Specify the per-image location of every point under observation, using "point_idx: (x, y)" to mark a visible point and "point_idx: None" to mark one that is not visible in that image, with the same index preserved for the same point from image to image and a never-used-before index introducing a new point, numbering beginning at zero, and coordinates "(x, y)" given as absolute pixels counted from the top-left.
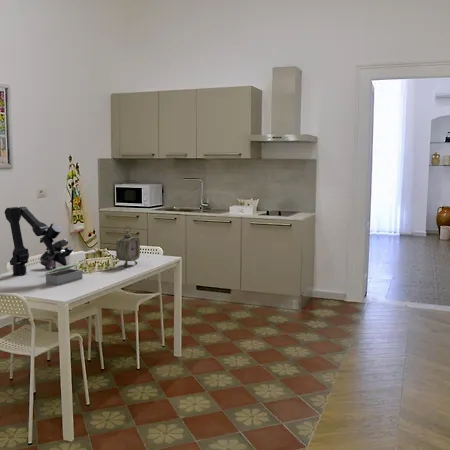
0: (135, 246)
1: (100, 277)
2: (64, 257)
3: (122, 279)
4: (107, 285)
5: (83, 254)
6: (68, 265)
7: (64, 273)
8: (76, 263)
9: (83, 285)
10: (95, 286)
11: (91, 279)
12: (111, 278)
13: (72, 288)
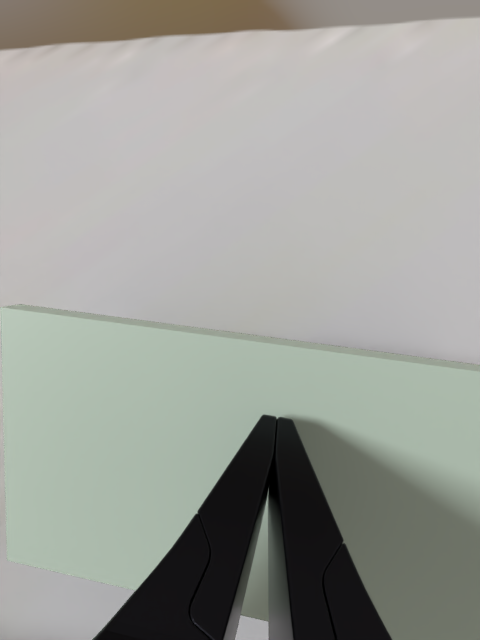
0: None
1: (35, 230)
2: (180, 581)
3: (64, 55)
4: (263, 35)
5: None
6: (298, 343)
7: None
8: (99, 318)
9: (335, 178)
10: (324, 83)
11: (121, 252)
12: (50, 136)
13: (466, 191)
